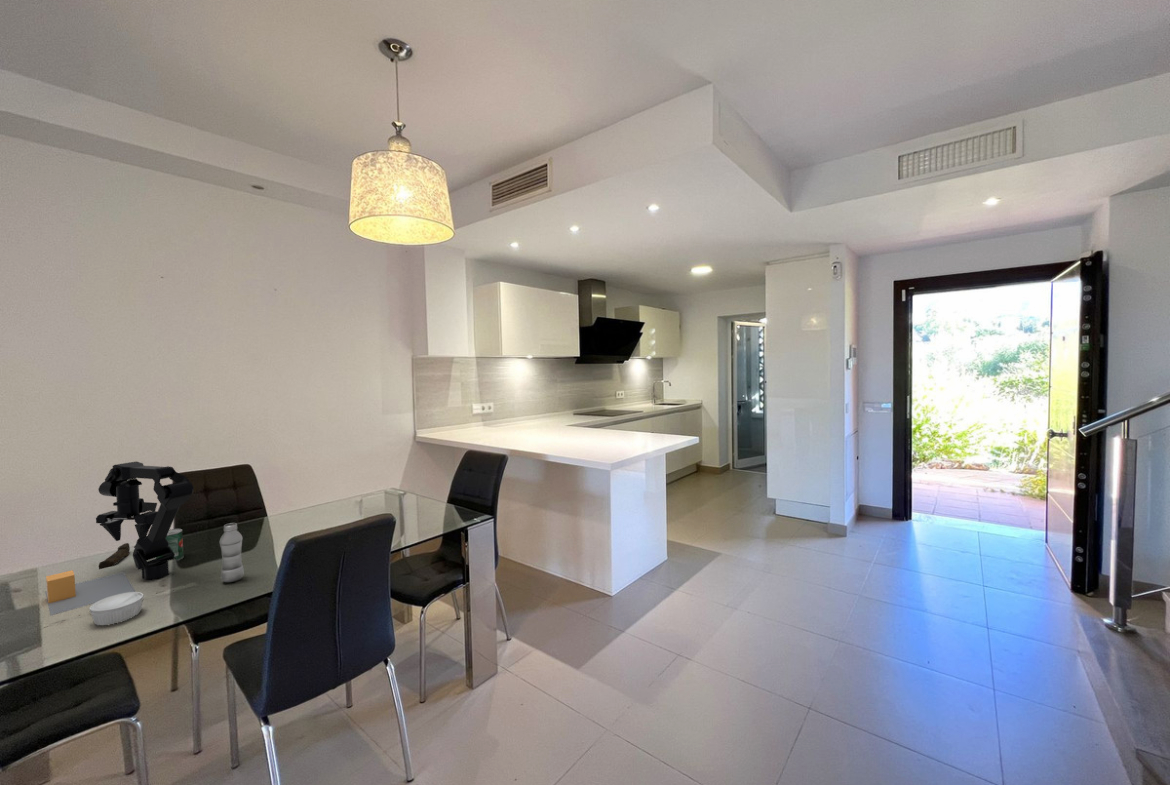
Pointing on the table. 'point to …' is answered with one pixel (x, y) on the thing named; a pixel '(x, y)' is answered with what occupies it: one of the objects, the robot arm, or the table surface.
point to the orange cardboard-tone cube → (60, 586)
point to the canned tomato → (175, 543)
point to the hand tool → (115, 556)
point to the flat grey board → (93, 592)
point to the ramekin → (116, 608)
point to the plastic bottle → (231, 554)
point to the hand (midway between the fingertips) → (130, 540)
